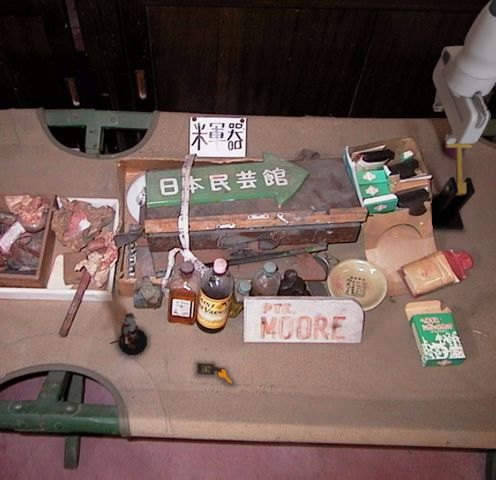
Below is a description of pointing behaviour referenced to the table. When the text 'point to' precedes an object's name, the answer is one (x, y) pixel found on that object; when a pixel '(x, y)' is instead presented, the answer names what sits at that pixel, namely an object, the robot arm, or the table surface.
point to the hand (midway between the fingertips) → (442, 125)
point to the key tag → (212, 371)
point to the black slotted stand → (450, 205)
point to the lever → (459, 166)
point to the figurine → (131, 337)
